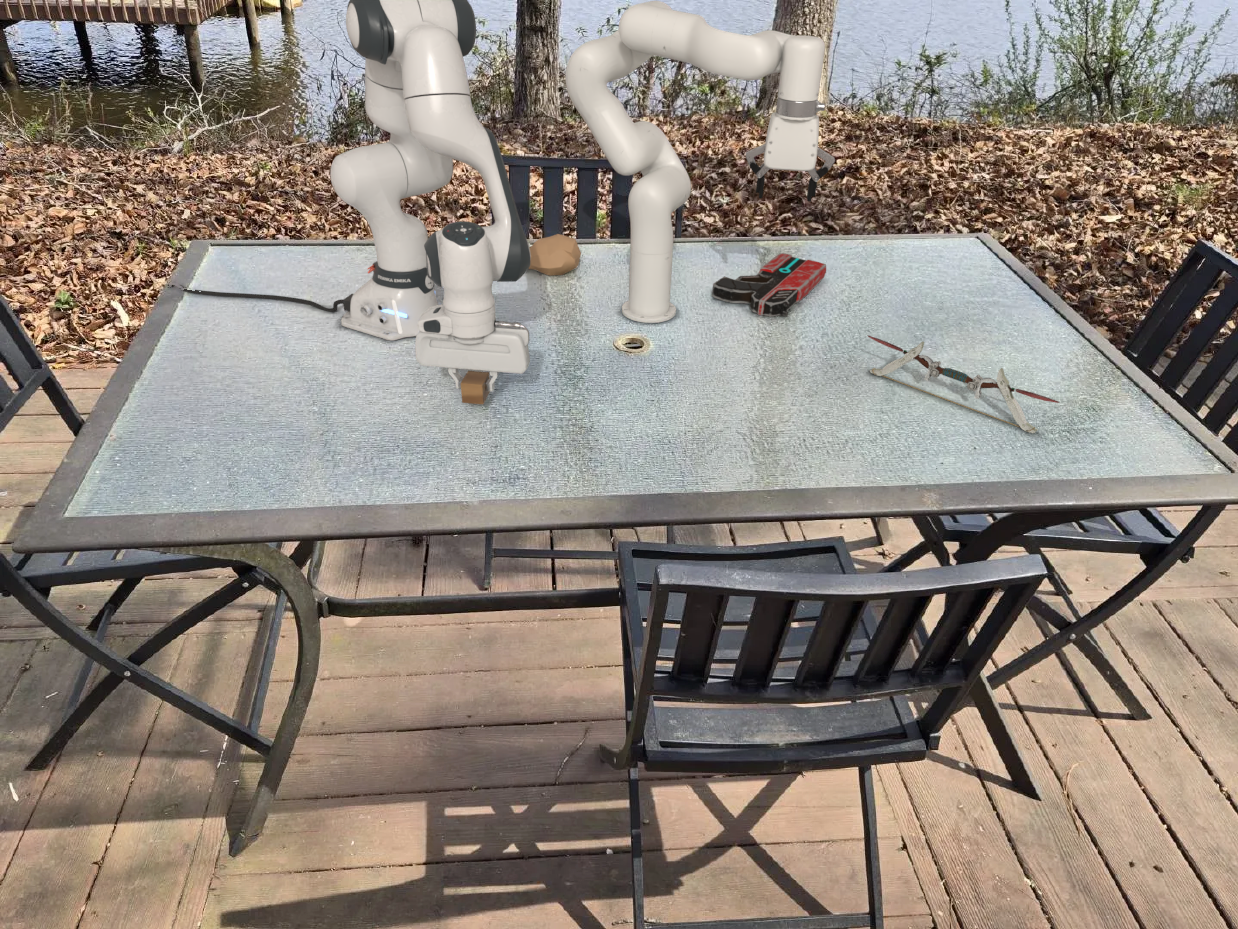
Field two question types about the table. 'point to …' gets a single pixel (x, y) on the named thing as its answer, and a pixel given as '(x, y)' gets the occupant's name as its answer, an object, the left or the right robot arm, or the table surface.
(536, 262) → the squash
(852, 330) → the table surface
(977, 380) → the bow
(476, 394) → the block
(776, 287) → the gun
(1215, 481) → the table surface
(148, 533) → the table surface
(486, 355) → the left robot arm
